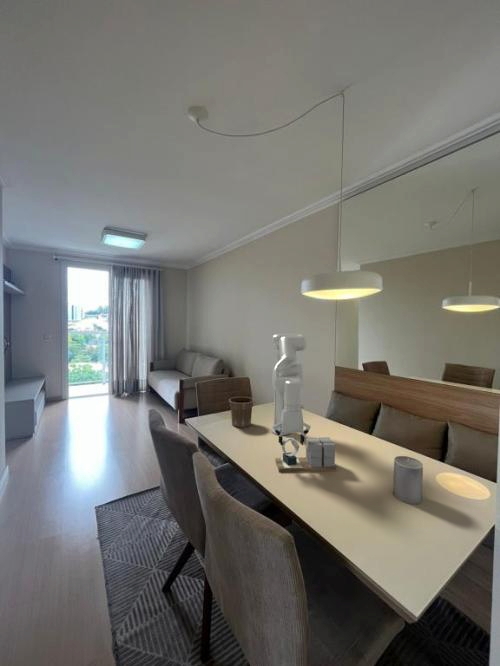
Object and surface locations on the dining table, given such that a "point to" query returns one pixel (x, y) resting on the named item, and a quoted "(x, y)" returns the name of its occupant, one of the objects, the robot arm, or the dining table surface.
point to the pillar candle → (408, 479)
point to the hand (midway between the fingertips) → (291, 443)
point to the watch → (290, 457)
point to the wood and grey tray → (313, 457)
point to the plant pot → (241, 411)
